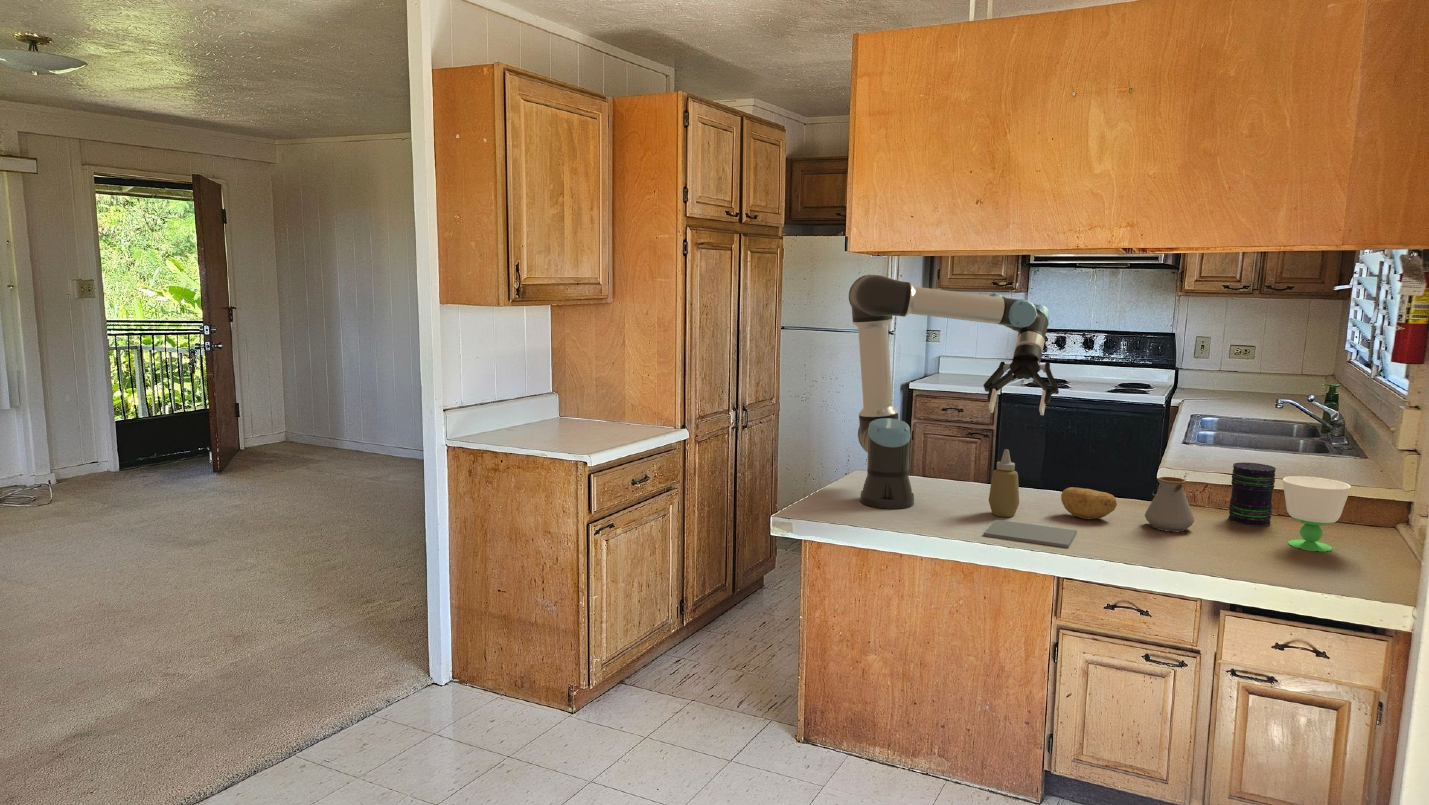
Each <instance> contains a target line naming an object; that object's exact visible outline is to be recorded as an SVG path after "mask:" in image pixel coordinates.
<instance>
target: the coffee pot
mask: <svg viewBox="0 0 1429 805" xmlns="http://www.w3.org/2000/svg"><path fill="white" fill-rule="evenodd" d="M1156 480H1157V481H1158V483H1159V485H1160V486H1159V489H1158V490H1157V492H1156V494H1155V495H1154V497H1153V499H1152V500H1151V503H1150V504H1149V506H1148V507H1147V509H1146V511H1145V513H1144V518H1145V520H1146V521H1147V522H1148V523H1149V524H1150V525H1151V527H1152V528H1154V527H1155V528H1154V529H1156V528H1157V529H1156V530H1159V531H1163V530H1167V531H1166V532H1169V531H1176V532H1175V533H1178V532H1177V531H1182V532H1184V530H1185V531H1186V529H1189V528H1191V526H1192V525H1193V524H1194V522H1195V517H1194V514H1193V512H1192V509H1191V507H1190V504H1189V501H1188V498H1187V496H1186V493H1185V491H1186V488H1185V486H1184V485H1185V484H1186V483H1187V480H1186V479H1185V478H1181V477H1174V476H1160V477H1157V478H1156Z"/></svg>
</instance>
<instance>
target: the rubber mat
mask: <svg viewBox="0 0 1429 805" xmlns="http://www.w3.org/2000/svg"><path fill="white" fill-rule="evenodd" d="M1077 534H1078V530H1077V529H1070V528H1064V527H1063V528H1061V527H1057V526H1056V527H1054V526H1048V525H1047V526H1046V525H1041V524H1040V525H1038V524H1034V523H1033V524H1032V523H1024V522H1017V521H1010V520H1002V519H995V520H994V521H993V522H992V523H991V524H990V525H989V526H988V528H987V529H985V531H984V532H983V537H989V538H996V539H1003V540H1010V541H1016V542H1017V541H1018V542H1024V543H1030V544H1031V543H1032V544H1038V545H1043V546H1045V545H1046V546H1049V547H1050V546H1052V547H1058V548H1059V547H1060V548H1066V549H1069V548H1070V546H1071V545H1072V542H1073V541H1074V539H1075V537H1076V535H1077Z"/></svg>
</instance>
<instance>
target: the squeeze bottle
mask: <svg viewBox="0 0 1429 805" xmlns="http://www.w3.org/2000/svg"><path fill="white" fill-rule="evenodd" d="M1000 460H1001V461H997V462H996V469H994V470H993V471H992V476H991V483H990V488H989V495H988V503H989V506H990V510H991V514H992V515H994V516H997V517H1000V518H1001V517H1004V518H1008V517H1014V516H1015V515H1016V512H1017V510H1018V508H1019V507H1020V506H1019V505H1020V490H1019V489H1020V487H1019V473H1018V472H1017V471H1016V470H1015V469H1016V468H1015V467H1016V463H1015V462H1012V460H1011V456H1010V450H1009V449H1006V448H1005V449H1004V450H1003V454H1002V456H1001V459H1000Z"/></svg>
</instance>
